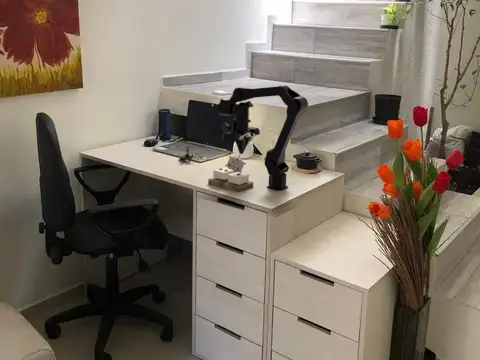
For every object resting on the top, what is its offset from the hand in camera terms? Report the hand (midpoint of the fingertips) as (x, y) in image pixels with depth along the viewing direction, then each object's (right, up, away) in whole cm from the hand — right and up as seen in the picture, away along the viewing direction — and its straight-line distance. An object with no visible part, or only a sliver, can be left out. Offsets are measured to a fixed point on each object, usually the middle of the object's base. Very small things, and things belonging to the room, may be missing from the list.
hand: (241, 153), depth 243 cm
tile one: (-1, -12, -7) cm, 13 cm away
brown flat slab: (-4, -13, -3) cm, 14 cm away
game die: (-3, -8, +14) cm, 16 cm away
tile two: (-7, -10, -2) cm, 12 cm away
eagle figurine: (-26, -2, +32) cm, 41 cm away
